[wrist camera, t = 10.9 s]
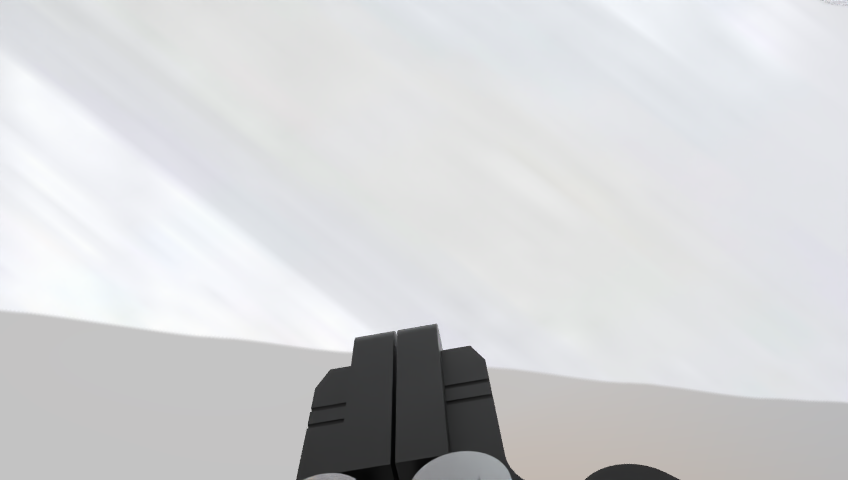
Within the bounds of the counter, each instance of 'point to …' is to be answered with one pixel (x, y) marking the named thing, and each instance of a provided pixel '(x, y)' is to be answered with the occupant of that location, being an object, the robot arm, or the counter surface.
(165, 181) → the counter surface
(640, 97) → the counter surface
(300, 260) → the counter surface
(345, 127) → the counter surface
